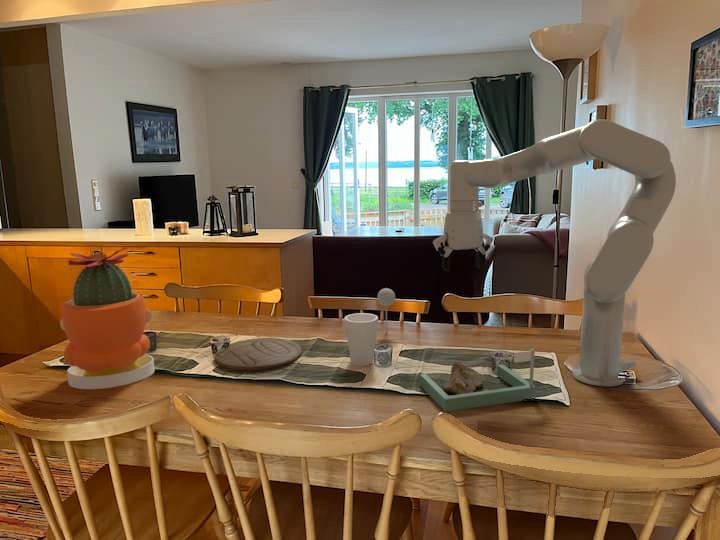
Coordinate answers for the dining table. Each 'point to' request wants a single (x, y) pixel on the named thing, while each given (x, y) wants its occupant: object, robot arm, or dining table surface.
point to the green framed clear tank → (490, 397)
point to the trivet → (258, 354)
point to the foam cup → (361, 337)
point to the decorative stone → (463, 379)
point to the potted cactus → (105, 327)
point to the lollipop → (386, 299)
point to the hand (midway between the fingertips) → (462, 269)
